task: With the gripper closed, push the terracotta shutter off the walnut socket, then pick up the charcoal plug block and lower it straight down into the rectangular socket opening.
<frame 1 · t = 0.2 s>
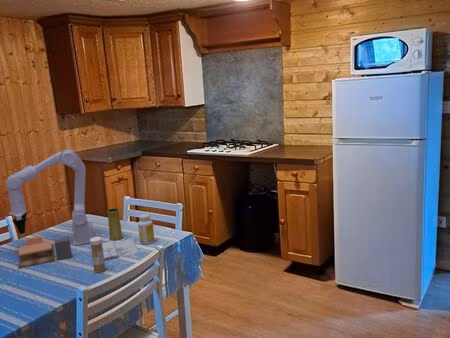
hand: (22, 230, 191), 10 cm above the table, tool pointing down, fingers open, 7 cm apart
plug: (64, 257, 183), on the table
sprinkles bottle: (99, 270, 168), on the table
open book: (115, 252, 188), on the table
shutter: (35, 244, 185), point 6 cm above the table, slide at 0.0 cm
vase: (116, 238, 203), on the table
socket: (36, 256, 186), on the table
supplement bottle: (147, 242, 196), on the table
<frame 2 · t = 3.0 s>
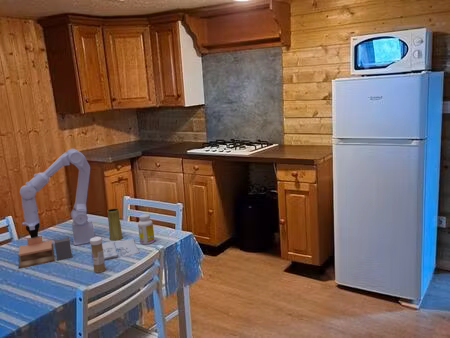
hand: (35, 240, 191), 5 cm above the table, tool pointing down, fingers closed
shutter: (35, 244, 185), point 6 cm above the table, slide at 0.1 cm, touching gripper
everything else where it was.
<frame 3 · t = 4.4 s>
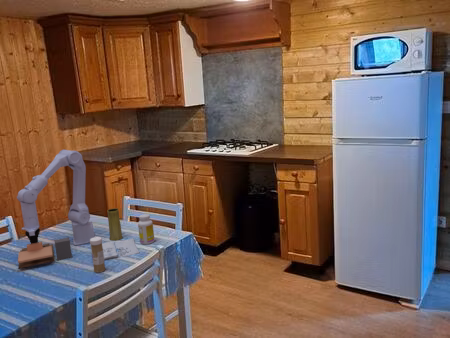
hand: (35, 246, 184), 5 cm above the table, tool pointing down, fingers closed
shutter: (35, 251, 178), point 5 cm above the table, slide at 8.2 cm, touching gripper
everything else where it was.
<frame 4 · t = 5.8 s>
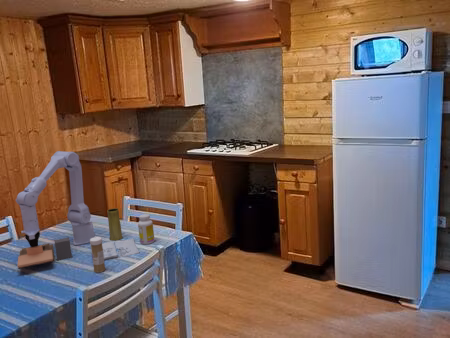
hand: (35, 250, 180), 5 cm above the table, tool pointing down, fingers closed
shutter: (35, 255, 174), point 6 cm above the table, slide at 13.0 cm, touching gripper
everything else where it was.
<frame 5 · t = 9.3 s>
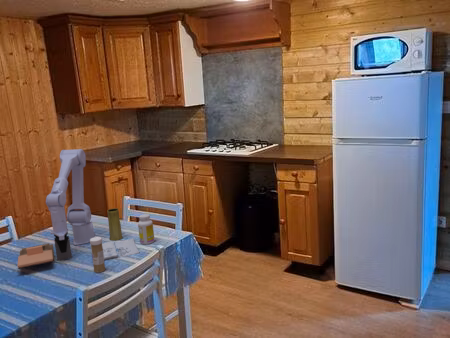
hand: (63, 250, 183), 3 cm above the table, tool pointing down, fingers closed on plug, 4 cm apart
plug: (64, 257, 183), on the table, touching gripper
shutter: (35, 255, 174), point 6 cm above the table, slide at 13.0 cm
everything else where it was.
when the fingers open (4 cm above the table, at t = 13.4 s): plug stays where it is, resting on socket.
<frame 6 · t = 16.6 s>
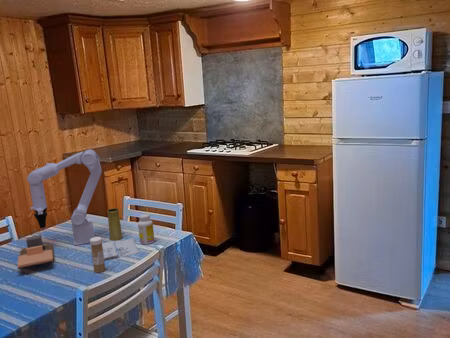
hand: (42, 225, 196), 10 cm above the table, tool pointing down, fingers open, 7 cm apart
plug: (36, 254, 186), point 1 cm above the table, touching socket
everything else where it was.
at the end: plug 0.0 cm off-centre on the socket, point 0.8 cm above the socket's base; plug tilted 0°; shutter slide at 13.0 cm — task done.
